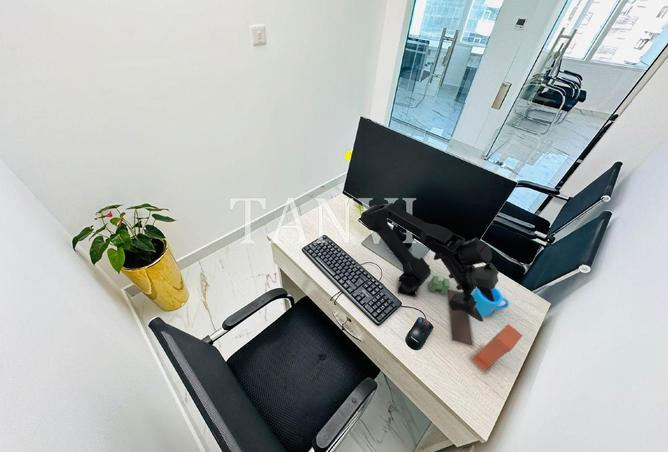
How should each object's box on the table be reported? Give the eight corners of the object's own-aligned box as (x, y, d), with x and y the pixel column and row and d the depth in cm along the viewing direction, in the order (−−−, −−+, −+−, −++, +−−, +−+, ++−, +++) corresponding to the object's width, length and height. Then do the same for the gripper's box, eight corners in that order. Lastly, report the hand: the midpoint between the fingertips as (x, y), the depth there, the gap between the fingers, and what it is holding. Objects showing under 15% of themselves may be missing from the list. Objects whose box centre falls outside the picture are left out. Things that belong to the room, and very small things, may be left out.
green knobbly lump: (445, 294, 96) (450, 286, 92) (429, 290, 97) (433, 282, 93) (444, 286, 98) (449, 279, 95) (429, 283, 99) (433, 275, 96)
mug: (469, 313, 90) (479, 300, 85) (466, 293, 96) (475, 281, 91) (505, 321, 89) (517, 309, 83) (499, 301, 95) (511, 289, 89)
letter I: (471, 359, 79) (496, 337, 68) (482, 347, 82) (508, 323, 71) (483, 371, 76) (511, 349, 66) (494, 357, 79) (522, 335, 69)
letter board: (452, 339, 83) (453, 338, 82) (447, 290, 97) (448, 289, 96) (471, 345, 82) (472, 344, 81) (464, 294, 96) (465, 293, 96)
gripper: (469, 281, 64) (504, 333, 63) (495, 244, 74) (525, 289, 74) (434, 286, 73) (465, 332, 73) (462, 253, 83) (488, 293, 83)
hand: (487, 310), depth 75 cm, fingers open, 9 cm apart
